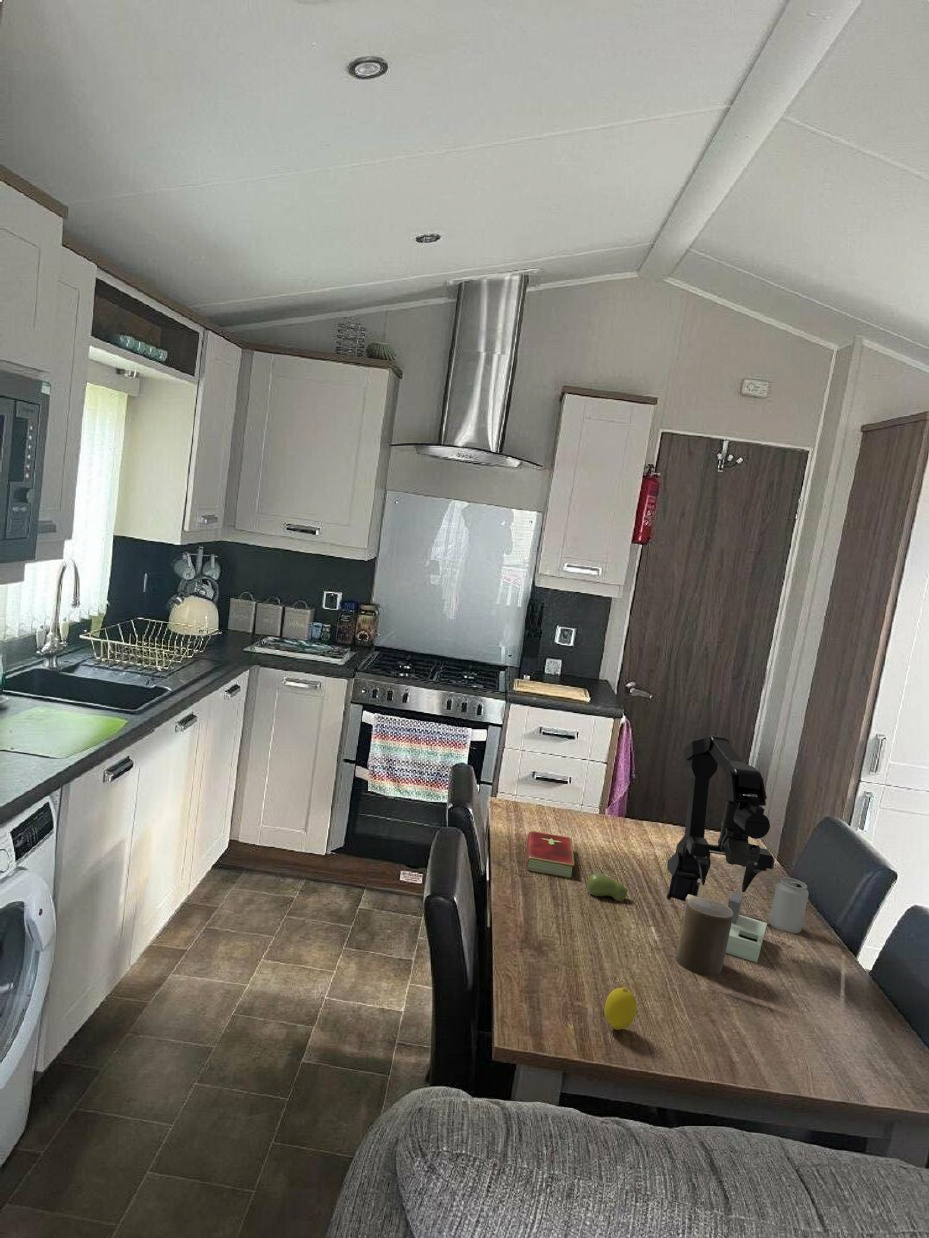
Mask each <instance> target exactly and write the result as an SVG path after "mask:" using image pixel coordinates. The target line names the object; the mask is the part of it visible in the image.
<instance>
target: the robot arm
mask: <svg viewBox="0 0 929 1238" xmlns="http://www.w3.org/2000/svg"><path fill="white" fill-rule="evenodd" d="M683 756H684V768H685V769H686V771H687V773H688V776H689V786H688V795H687V796H688V798H687V804H686V805H687V807H686V817H685V818H686V819H685V825H684V826H685V827H684V835H683V837H682V838H681V839H680V840H679V842H678V843H677V844H676V849H675V852H674V854H673V855H672V856H671V857H670V858H669V859H668V860H667V864H666V866H667V867H666V869H667V871H668V872H669V873H670V875H671V879H670V883H669V888H668V889H669V890H668V892H667V895H666V898H667V899H670V900H671V899H675V900H678V901H682V902H685V901H686V897H687V895H688V894H690V895H693V896H696V897H699V892H700V885H702V886H705V883H706V880H707V875H708V873H709V870H710V868H711V864H712V863H711V854H715V855H720V856H725V861H726V863H727V864H728V865H732V866H733V865H737V866H740V867H743V868H744V867H745V870H744V876H743V880H742V885H741V891H742V892H741V893H745V892H746V891H747V889H748V888H749V886H750V884H751V883H752V882H753V880H754V879H755V877H757V875H758V874H759V873H761V872H767V871H768V869H769V870H773V869H774V866H775V858H774V856H773V855H772V852H770V851H769V849H768V848H763V847H762V848H761V847H760V845H759V844H758V845H757V844H753V843H749V838H750V839H753V840H759V839H762V838H764V837H765V836H766V835H767V834H769V833H768V832H769V831H770V828H771V822H770V820H769V818H768V816H767V815H765V814H764V812H765V808H764V807H766V805H767V803H766V800H767V799H768V797H767V793H766V788H765V783H764V779H763V776H762V773H761V772H760V770H758V769H757V768H755V767H754V766H753V765H752V766H751V765H749V764H747V763H745V762H744V761H743V760H742V759H741V757H740V756H739V754H737V752H736V751H735V750H734V748H733V747H732V746H731V744H730V741H729V739H728V738H726V737H725V736H719V735H706V736H705V737H703V738H700V739H697V740H694V741H693V740H692V741H691V742H690V743H689V744H687V745H686V746H685V748H684V751H683ZM719 768H720V769H721V771H722V772H723V773H724V775H725V776H724V780H723V782H724V785H725V788H726V792H725V793H724V796H725V797H726V804H725V808H724V813H723V818H722V820H721V822H720V823H721V824H720V825H721V829H720V834H719V837H718V839H717V844H710V843H709V842H708V840H707V839H706V838H705V834H706V833H705V832H706V825H707V824H706V823H707V815H708V813H707V812H708V802H709V794H710V793H709V791H710V781H711V779H712V778H713V777H714V775H715V774H716V773H717V772H718V769H719ZM699 880H700V881H701V882H699Z"/></svg>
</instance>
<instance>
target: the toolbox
mask: <svg viewBox="0 0 929 1238" xmlns="http://www.w3.org/2000/svg"><path fill="white" fill-rule="evenodd" d="M738 937H742V938H745V939H748V940H751V941H755V942H757V940H756V939H753V938H750V937H747V936H743V935H740V934H739V936H738ZM763 941H764V940H763ZM763 941H762V944H761V948H760V949H756V948H753V947H750V946H747V945H744V944H740V943H737V942H734V941H731V940H728V943H727V948H726V953H725V954H729V955H732V956H735V957H739V958H741V959H744V960H748V961H751V962H754V963H758V961H759V957H760V954H761V949H762V945H763Z"/></svg>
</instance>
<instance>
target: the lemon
mask: <svg viewBox="0 0 929 1238" xmlns="http://www.w3.org/2000/svg"><path fill="white" fill-rule="evenodd" d="M636 1014H637V1001H636V998H635V995H634V994H633V993H632V992H631V991H630V990H629V989H627V988H626V987H618V988H615V989H613V990H612V991H611V992H610V993H609V995H608V996H607V998H606V1001H605V1004H604V1016H605V1019H606V1021H607V1022H608V1024H609V1025H610V1026H612V1027H613V1029H614V1030H616V1031H619V1030H624V1029H627V1028H629V1027H630V1026H631V1025H632V1024H633V1022H634V1021H635V1017H636Z"/></svg>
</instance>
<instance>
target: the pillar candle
mask: <svg viewBox="0 0 929 1238" xmlns="http://www.w3.org/2000/svg"><path fill="white" fill-rule="evenodd" d="M698 897H699V896H698ZM698 897H696V898H691V899H689V900H688V901H687V906H686V911H685V916H684V920H683V925H682V930H681V932H680V935H679V940H678V946H677V949H676V952H675V957H674V959H675V962H676V963H677V964H678V965H680V966H681V967H683V968H684V969H685V970H687V971H689V972H691V973H695V974H698V975H702V976H708V977H709V976H711V977H714V976H718V975H720V974H722V972H723V966H724V964H725V963H724V962H725V958H726V954H727V953H726V948H727V943H728V939H729V934H730V929H731V924H732V919H733V911H732V909H730V908H729V907H728V905H725V904H723V903H721V902H718V901H716V900H711V899H708V898H702V897H700V898H698Z"/></svg>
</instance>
